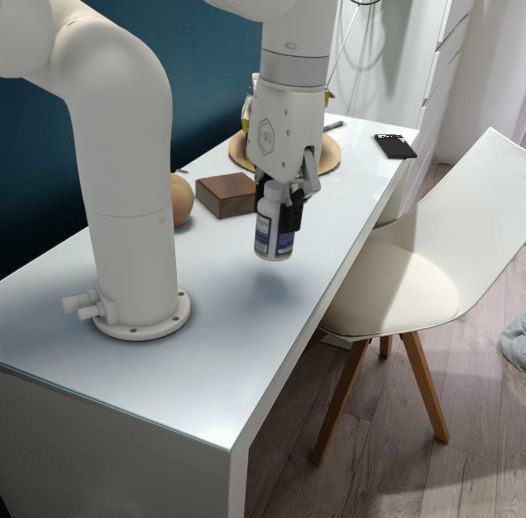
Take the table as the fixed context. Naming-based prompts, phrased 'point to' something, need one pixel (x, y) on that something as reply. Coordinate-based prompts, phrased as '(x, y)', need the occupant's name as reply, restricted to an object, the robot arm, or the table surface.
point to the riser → (227, 194)
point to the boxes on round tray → (239, 140)
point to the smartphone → (395, 146)
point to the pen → (332, 125)
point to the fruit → (181, 199)
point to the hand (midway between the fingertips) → (276, 220)
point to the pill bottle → (272, 225)
